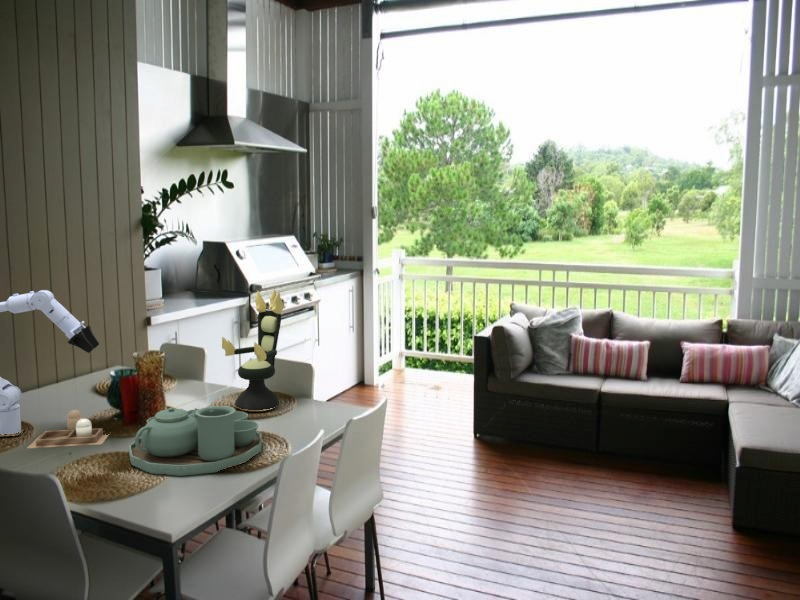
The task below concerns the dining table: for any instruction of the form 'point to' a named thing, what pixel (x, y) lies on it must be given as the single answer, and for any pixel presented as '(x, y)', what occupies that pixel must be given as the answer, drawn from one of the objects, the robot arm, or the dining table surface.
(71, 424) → the brown egg
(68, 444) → the wooden divided tray
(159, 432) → the tea set
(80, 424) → the cream egg
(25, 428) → the dining table surface
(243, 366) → the toy throne chair
